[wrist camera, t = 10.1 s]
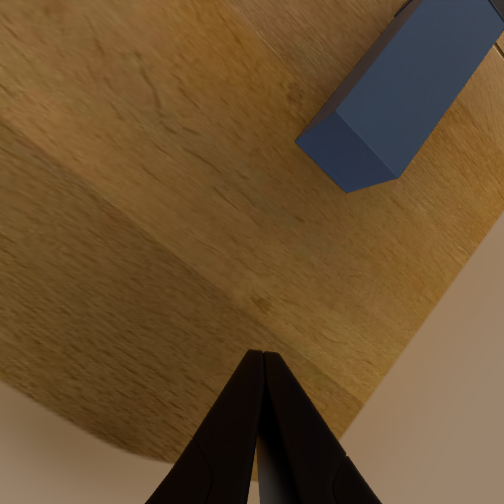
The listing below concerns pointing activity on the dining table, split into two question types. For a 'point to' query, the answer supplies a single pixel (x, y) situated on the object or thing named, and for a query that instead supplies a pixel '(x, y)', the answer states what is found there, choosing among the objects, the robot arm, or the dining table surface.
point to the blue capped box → (401, 90)
